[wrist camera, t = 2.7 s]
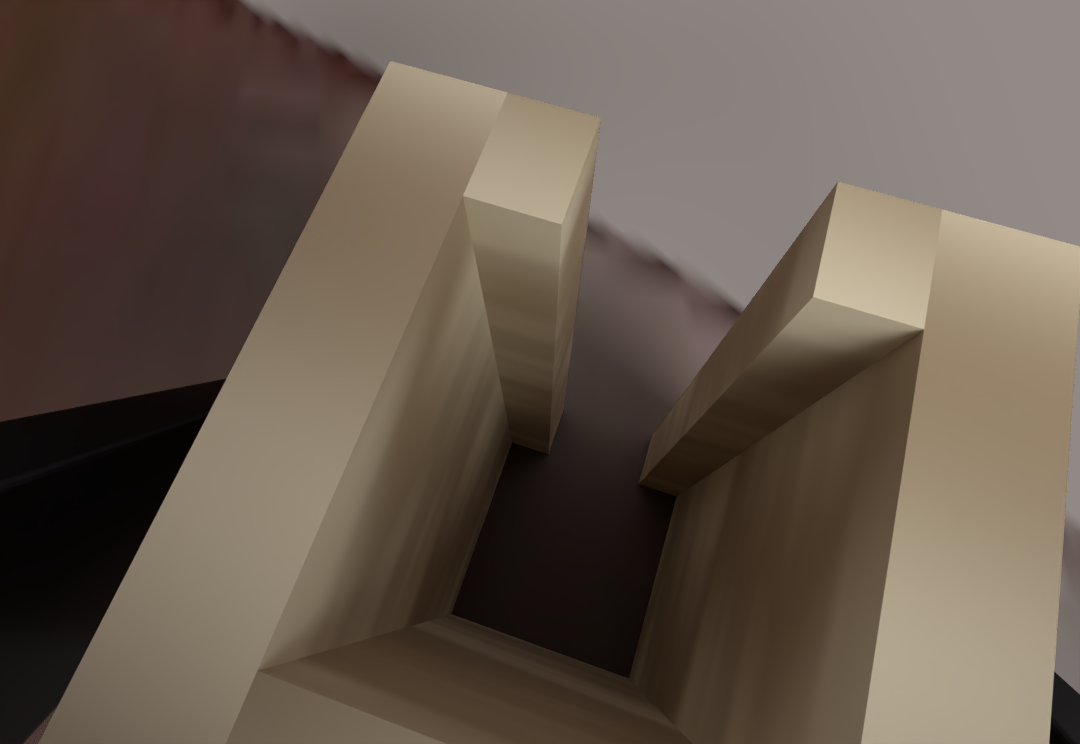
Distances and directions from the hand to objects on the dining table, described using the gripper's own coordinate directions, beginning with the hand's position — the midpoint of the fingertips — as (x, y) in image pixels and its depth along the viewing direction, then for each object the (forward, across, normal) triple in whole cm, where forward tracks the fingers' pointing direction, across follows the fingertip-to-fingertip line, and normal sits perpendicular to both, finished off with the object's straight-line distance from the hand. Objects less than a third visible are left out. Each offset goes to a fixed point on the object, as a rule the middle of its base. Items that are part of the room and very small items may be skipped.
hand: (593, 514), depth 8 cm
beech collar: (+5, 0, +6) cm, 8 cm away
